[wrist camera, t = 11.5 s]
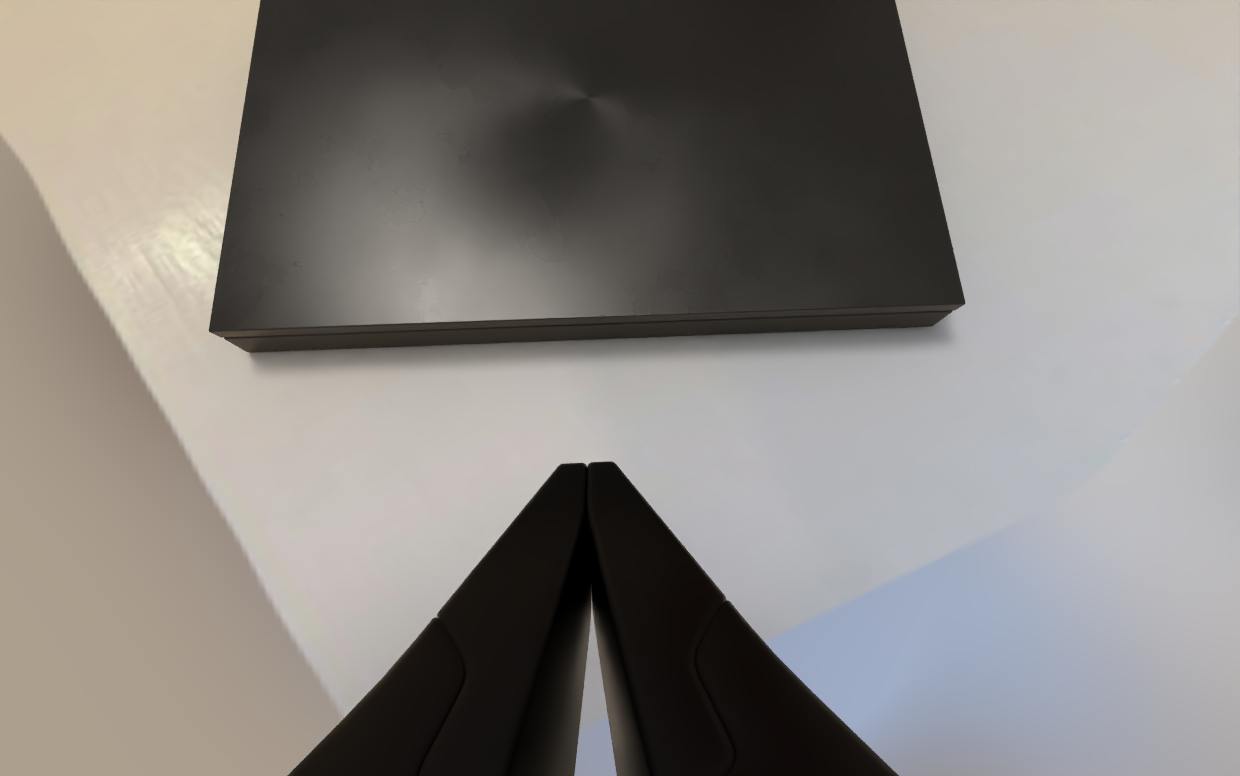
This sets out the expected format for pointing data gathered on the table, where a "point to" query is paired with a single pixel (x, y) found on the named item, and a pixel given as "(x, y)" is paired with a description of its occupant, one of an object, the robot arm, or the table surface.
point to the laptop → (585, 331)
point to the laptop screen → (578, 166)
